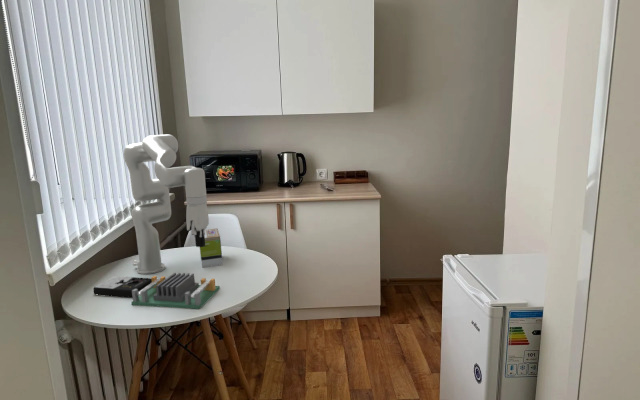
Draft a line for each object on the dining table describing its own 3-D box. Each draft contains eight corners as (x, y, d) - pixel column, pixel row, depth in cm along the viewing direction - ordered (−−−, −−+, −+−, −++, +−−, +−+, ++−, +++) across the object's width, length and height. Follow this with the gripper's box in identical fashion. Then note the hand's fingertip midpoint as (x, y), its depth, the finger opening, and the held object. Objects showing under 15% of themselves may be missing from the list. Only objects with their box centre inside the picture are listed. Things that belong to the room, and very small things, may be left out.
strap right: (189, 298, 164) (189, 295, 164) (206, 283, 178) (205, 280, 178) (194, 299, 163) (194, 296, 163) (211, 283, 177) (210, 280, 177)
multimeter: (134, 299, 174) (133, 287, 173) (93, 295, 179) (92, 284, 178) (154, 286, 187) (152, 275, 186) (115, 283, 191) (113, 272, 190)
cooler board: (131, 304, 168) (129, 287, 167) (158, 285, 186) (156, 269, 185) (199, 308, 163) (197, 290, 161) (219, 288, 181) (218, 272, 180)
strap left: (136, 295, 168) (136, 293, 168) (157, 281, 182) (156, 278, 182) (141, 296, 168) (141, 293, 167) (161, 281, 182) (161, 278, 181)
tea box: (200, 258, 220) (197, 229, 217) (220, 255, 223) (218, 227, 220) (201, 267, 206) (198, 237, 203) (223, 265, 209) (220, 235, 206)
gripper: (196, 196, 174) (200, 240, 178) (177, 204, 160) (182, 252, 164) (214, 196, 173) (217, 240, 177) (196, 204, 159) (200, 252, 162)
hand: (200, 246), depth 170 cm, fingers closed
